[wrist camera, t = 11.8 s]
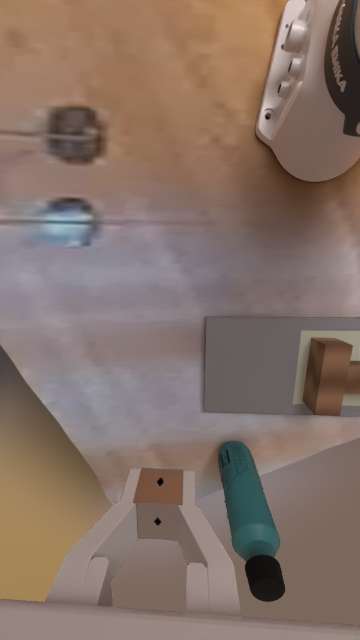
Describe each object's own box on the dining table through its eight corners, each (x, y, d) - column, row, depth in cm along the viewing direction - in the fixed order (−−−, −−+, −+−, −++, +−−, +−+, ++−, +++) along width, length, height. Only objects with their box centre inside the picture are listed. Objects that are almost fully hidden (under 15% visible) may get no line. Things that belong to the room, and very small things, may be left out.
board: (206, 316, 38) (206, 317, 37) (378, 317, 37) (384, 319, 35) (203, 407, 42) (204, 411, 40) (359, 412, 40) (364, 416, 39)
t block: (311, 337, 37) (325, 344, 33) (378, 338, 36) (401, 346, 32) (302, 400, 39) (314, 414, 35) (365, 403, 39) (384, 417, 35)
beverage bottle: (223, 430, 43) (250, 563, 23) (254, 440, 43) (309, 581, 23) (211, 456, 44) (228, 602, 24) (242, 466, 44) (283, 619, 25)
